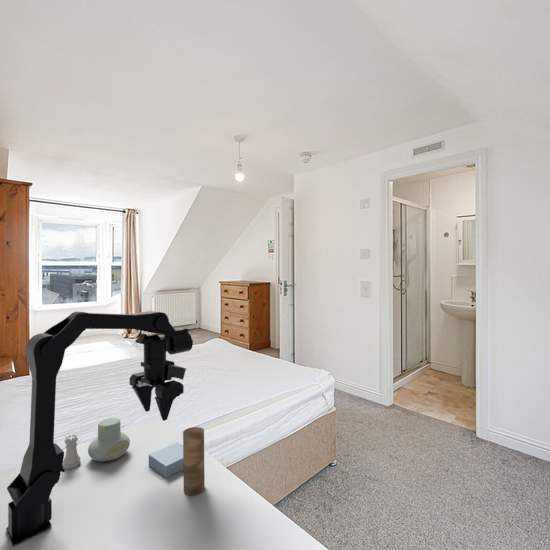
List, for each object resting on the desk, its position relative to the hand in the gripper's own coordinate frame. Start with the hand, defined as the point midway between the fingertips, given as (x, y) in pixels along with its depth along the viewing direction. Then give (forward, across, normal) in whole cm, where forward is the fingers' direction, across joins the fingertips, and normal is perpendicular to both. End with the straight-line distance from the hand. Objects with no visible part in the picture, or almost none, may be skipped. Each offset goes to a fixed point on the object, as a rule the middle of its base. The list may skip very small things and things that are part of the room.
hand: (155, 415), depth 90 cm
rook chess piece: (+15, +20, +14) cm, 29 cm away
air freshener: (+15, +17, +6) cm, 23 cm away
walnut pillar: (+15, -15, -2) cm, 21 cm away
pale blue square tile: (+15, -1, -4) cm, 15 cm away
